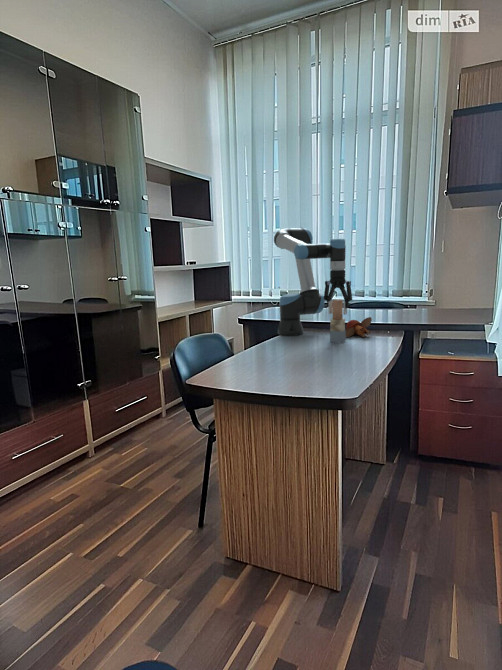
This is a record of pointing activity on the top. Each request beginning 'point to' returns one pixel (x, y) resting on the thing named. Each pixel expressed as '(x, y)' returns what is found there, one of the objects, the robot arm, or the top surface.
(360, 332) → the figurine
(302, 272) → the robot arm
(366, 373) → the top surface
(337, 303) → the tan rounded cylinder
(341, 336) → the cube bottom
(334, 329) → the beige cube
